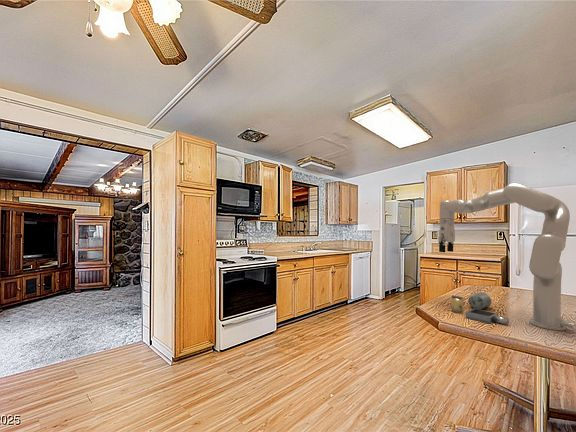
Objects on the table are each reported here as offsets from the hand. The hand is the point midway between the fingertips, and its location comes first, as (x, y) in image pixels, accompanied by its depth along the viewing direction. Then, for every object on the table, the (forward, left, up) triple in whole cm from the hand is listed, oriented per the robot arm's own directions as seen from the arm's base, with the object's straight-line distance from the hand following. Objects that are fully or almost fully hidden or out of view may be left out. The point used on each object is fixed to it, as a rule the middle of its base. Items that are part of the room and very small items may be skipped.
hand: (446, 251), depth 168 cm
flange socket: (-25, +13, -30) cm, 41 cm away
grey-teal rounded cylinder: (-15, -8, -30) cm, 34 cm away
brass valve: (-11, +11, -30) cm, 34 cm away
